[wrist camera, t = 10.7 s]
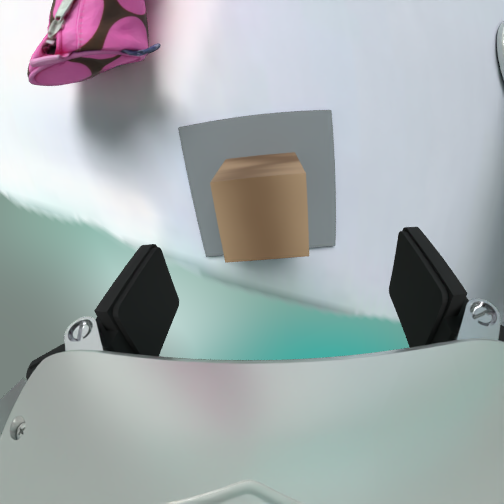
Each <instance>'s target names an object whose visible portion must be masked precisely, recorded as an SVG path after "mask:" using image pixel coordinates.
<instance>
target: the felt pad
mask: <svg viewBox="0 0 504 504" xmlns="http://www.w3.org/2000/svg"><path fill="white" fill-rule="evenodd" d="M178 129H179V135H180V140H181V145H182V150H183V155H184V160H185V165H186V170H187V175H188V180H189V185H190V189H191V194H192V198H193V203H194V207H195V212H196V216H197V221H198V225H199V229H200V233H201V238H202V242H203V246H204V250H205V254H206V257H207V256H219V255H224V253H223V248H222V243H221V238H220V233H219V228H218V223H217V217H216V212H215V207H214V202H213V196H212V191H211V185H210V182H211V180H212V179H213V177H214V176H215V174H216V173H217V171H218V170H219V168H220V167H221V166H222V164H223V163H224V161H225V160H226V159H231V158H240V157H248V156H258V155H268V154H279V153H293V152H295V154H296V155H297V157H298V159H299V161H300V163H301V165H302V167H303V169H304V171H305V172H306V184H307V204H308V230H309V248H314V247H325V246H335V238H336V190H335V159H334V140H333V125H332V113H331V110H313V111H294V112H281V113H270V114H260V115H251V116H243V117H236V118H229V119H223V120H216V121H210V122H205V123H199V124H194V125H189V126H184V127H180V128H178Z"/></svg>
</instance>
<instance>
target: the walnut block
mask: <svg viewBox="0 0 504 504" xmlns="http://www.w3.org/2000/svg"><path fill="white" fill-rule="evenodd" d="M210 185H211V191H212V196H213V202H214V207H215V212H216V217H217V223H218V228H219V233H220V238H221V243H222V248H223V253H224V258H225V263H226V262H239V261H252V260H266V259H279V258H291V257H304V256H309V230H308V204H307V184H306V172H305V171H304V169H303V167H302V165H301V163H300V161H299V159H298V157H297V155H296V154H295V152H293V153H279V154H268V155H258V156H248V157H240V158H231V159H226V160H225V161H224V163H223V164H222V166H221V167H220V168H219V170H218V171H217V173H216V174H215V176H214V177H213V179H212V180H211V182H210Z"/></svg>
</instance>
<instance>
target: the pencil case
mask: <svg viewBox="0 0 504 504" xmlns="http://www.w3.org/2000/svg"><path fill="white" fill-rule="evenodd" d="M148 43H149V42H148V25H147V18H146V7H145V1H144V0H53V4H52V7H51V11H50V16H49V25H48V33H47V35H46V36H45V38H44V39H43V40H42V42H41V43H40V44H39V46H38V47H37V49H36V50H35V52H34V53H33V55H32V57H31V59H30V63H29V66H28V77H29V82H30V83H31V84H34V85H41V86H57V85H64V84H69V83H76V82H81V81H84V80H87V79H90V78H92V77H94V76H96V75H98V74H100V73H102V72H105V71H107V70H109V69H112V68H115V67H117V66H120V65H124V64H129V63H134V62H139V61H142V60H144V59H145V57H146V56H147V55H148V53H151V52H153V51H156V50H157V49H158V48H159V47H160V44H155V45H153V46H151V47H149V48H148Z"/></svg>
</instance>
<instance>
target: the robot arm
mask: <svg viewBox="0 0 504 504" xmlns="http://www.w3.org/2000/svg"><path fill="white" fill-rule="evenodd" d="M497 52H498V60H499V64H500V69H501V73H502V77H503V80H504V21H503V22H502V23H501V25H500V27H499V29H498V34H497ZM389 294H390V297H391V299H392V302H393V304H394V307H395V309H396V312H397V314H398V317H399V319H400V322H401V325H402V327H403V330H404V332H405V335H406V338H407V341H408V344H409V347H410V348H404V349H398V350H390V351H384V352H376V353H368V354H359V355H350V356H339V357H326V358H313V359H293V360H254V361H253V360H248V361H247V360H206V359H186V358H172V357H159V354H160V351H161V349H162V346H163V343H164V341H165V338H166V336H167V334H168V331H169V329H170V326H171V324H172V321H173V318H174V316H175V314H176V311H177V309H178V306H179V298H178V296H177V293H176V290H175V287H174V285H173V282H172V279H171V276H170V273H169V271H168V268H167V265H166V262H165V259H164V256H163V253H162V250H161V249H160V248H159V247H157V246H156V245H155V244H151V245H142V246H141V247H140V248H139V249H138V250H137V252H136V253H135V254H134V256H133V257H132V258H131V260H130V261H129V262H128V264H127V265H126V266H125V268H124V269H123V271H122V272H121V273H120V275H119V276H118V278H117V279H116V280H115V282H114V283H113V284H112V286H111V287H110V289H109V290H108V292H107V293H106V295H105V296H104V297H103V299H102V300H101V302H100V303H99V305H98V306H97V308H96V309H95V313H96V315H97V316H98V317H97V318H96V320H95V319H94V318H92V317H82V318H79V319H77V320H75V321H74V322H73V323H72V324H71V325H70V326H69V327H68V328H67V330H66V332H65V336H64V339H65V343H64V344H62V345H60V346H59V347H57V348H55V349H53V350H52V351H50V352H48V353H46V354H44V355H42V356H41V357H39V358H37V359H36V360H34V361H32V362H31V364H30V366H29V368H28V370H27V375H26V378H27V380H26V379H25V378H22V379H21V380H20V381H19V382H18V383H17V384H16V385H15V386H14V387H13V388H12V389H11V390H10V391H8V392H7V393H6V394H5V395H4V396H3V397H2V398H1V399H0V432H1V438H0V504H504V326H502V325H500V323H501V317H500V313H499V311H498V309H497V308H496V307H495V306H494V305H493V304H492V303H491V302H489V301H487V300H484V299H481V298H475V299H472V300H470V301H468V299H467V297H466V295H467V292H466V290H465V289H464V287H463V286H462V285H461V283H460V282H459V280H458V279H457V277H456V276H455V274H454V273H453V272H452V270H451V269H450V267H449V266H448V265H447V263H446V262H445V261H444V259H443V258H442V257H441V255H440V254H439V253H438V251H437V250H436V249H435V247H434V246H433V245H432V244H431V242H430V241H429V240H428V239H427V237H426V236H425V235H424V234H423V232H422V231H421V230H420V229H419V228H418V227H405V228H403V230H402V231H400V232H399V235H398V241H397V248H396V254H395V260H394V265H393V271H392V276H391V281H390V286H389Z"/></svg>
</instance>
